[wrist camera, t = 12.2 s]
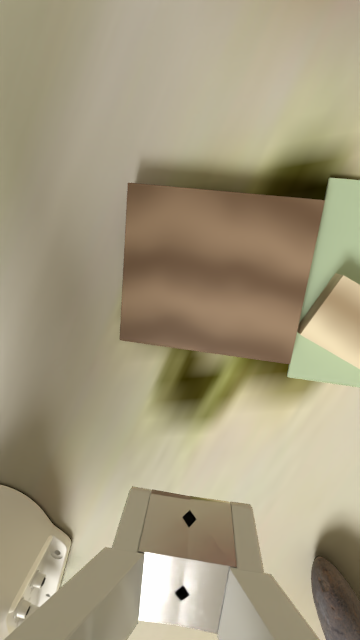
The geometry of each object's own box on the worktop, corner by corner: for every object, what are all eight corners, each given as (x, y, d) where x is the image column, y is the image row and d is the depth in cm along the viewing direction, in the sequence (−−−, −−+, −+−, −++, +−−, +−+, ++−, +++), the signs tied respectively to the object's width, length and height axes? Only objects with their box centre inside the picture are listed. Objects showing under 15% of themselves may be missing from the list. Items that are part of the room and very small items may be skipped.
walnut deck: (285, 356, 29) (290, 364, 28) (125, 333, 31) (119, 340, 29) (317, 203, 26) (325, 200, 24) (134, 186, 27) (127, 182, 25)
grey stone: (291, 544, 35) (308, 616, 28) (338, 535, 34) (367, 607, 27) (331, 637, 38) (355, 722, 31) (375, 631, 37) (410, 717, 30)
